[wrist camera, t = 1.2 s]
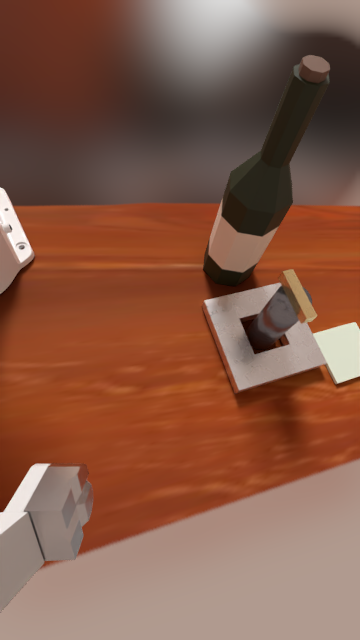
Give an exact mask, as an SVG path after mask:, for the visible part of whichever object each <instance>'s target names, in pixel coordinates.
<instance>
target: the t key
mask: <svg viewBox="0 0 360 640" xmlns="http://www.w3.org/2000/svg"><path fill="white" fill-rule="evenodd" d="M278 279H279V281H280V283H281V285H282V286H280V287H279V289H278V290H277V291H276V292H275V294H274V295H273V296H272V297H271V299H270V300H269V301H268V303H267V304H266V305H265V306H264V308H263V309H262V310H261V312H260V313H259V314H258V315H257V317H256V318H255V319H254V321H253V322H252V323H251V324H250V326H249V327H248V328H247V330H246V336H247V338H248V340H249V343H250V345H251V346H252V347H253V348H255V349H258V350H266V349H268V348H270V347H271V346H272V345H273V344H274V343H275V342H276V341H277V340H278V339H279V338H281V337H282V336H283V335H284V334H285V333H286V332H287V331H288V330H289V329H290V328H291V327H292V326H293V325H295V324H296V323H297V322H298V321H300V323H301V324H303V323H307V322H310V321H312V320H313V319H315V318H316V317H317V314H316V312H315V310H314V309H313V307H312V299H311V296H310V294H309V293H308V291H307V290H306V289H305V288H304V287H302V286H301V284H300V282H299V280H298V278H297V276H296V274H295V272H294V270H293V269H291V270H286V271H282V273H281V274H280V276H279V277H278Z"/></svg>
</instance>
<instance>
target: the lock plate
mask: <svg viewBox="0 0 360 640" xmlns="http://www.w3.org/2000/svg"><path fill="white" fill-rule="evenodd" d="M280 286H282V285H281V283H277V284H273V285H268V286H264V287H260V288H256V289H251V290H247V291H243V292H238V293H234V294H230V295H226V296H221V297H217V298H213V299H209V300H204V302H203V305H202V309H203V311H204V314H205V316H206V319H207V322H208V324H209V327H210V330H211V332H212V335H213V337H214V340H215V343H216V345H217V348H218V351H219V353H220V356H221V358H222V361H223V364H224V366H225V369H226V372H227V374H228V377H229V379H230V382H231V385H232V387H233V390H234V393H235V394H236V393H239V392H242V391H245V390H249V389H252V388H255V387H258V386H261V385H265V384H268V383H271V382H274V381H277V380H280V379H284V378H287V377H290V376H293V375H296V374H300V373H303V372H306V371H309V370H312V369H316V368H319V367H321V366H323V365H325V364H326V363H327V362H326V360H325V358H324V356H323V354H322V352H321V350H320V348H319V346H318V344H317V342H316V340H315V338H314V336H313V334H312V332H311V330H310V328H309V326H308V324H307V323H303V324H301V323H300V321H298V322H297V323H296V324H295V325H293V326H292V327H291V328H290V329H289V330H288V331H287V332H286V333H285V334H284V335H283V336H282V337H281V338H280V340H281V342H282V345H283V346H282V347H279V348H275V349H272V350H268V351H265V352H261V353H258V354H254V352H253V350H252V347H251V345H250V343H249V340H248V338H247V336H246V333H245V331H244V328H243V326H242V324H241V322H245V321H249V320H252V319H255V318H256V317H257V315H258V314H259V313H260V312H261V310H262V309H263V308H264V306H265V305H266V304H267V303H268V301H269V300H270V299H271V297H272V296H273V295H274V294H275V292H276V291H277V290H278V289H279V287H280Z"/></svg>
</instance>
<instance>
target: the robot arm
mask: <svg viewBox="0 0 360 640" xmlns="http://www.w3.org/2000/svg"><path fill="white" fill-rule="evenodd" d="M21 248H24V249H22V250H21ZM33 258H34V252H33V250H32V248H31V245H30V243H29V241H28V239H27V237H26V234H25V232H24V230H23V228H22V226H21V223H20V221H19V219H18V217H17V215H16V212H15V210H14V208H13V206H12V204H11V202H10V199H9V197H8V195H7V193H6V192H5V190H4V189H2V188H0V294H1V293H2V292H3V291H4V290H6V289H7V287H8V286H9V285H10V284H11V283H12V281H13V280H14V278H15V276H16V275H17V273H18V272H19V271H20V269H22V268H23V267H24V266H26V265H27V264H28V263H30V262H31V261H32V260H33ZM88 474H89V472H88V469H87V465H86V464H72V463H52V464H35V465H33V466H32V467H31V468H30V469H29V471H28V473H27V474H26V476H25V478H24V479H23V481H22V483H21V484H20V486H19V487H18V489H17V491H16V492H15V494H14V496H13V497H12V499H11V500H10V502H9V504H8V505H7V507H6V509H5V510H4V512H0V613H1V611H2V610H3V609H4V608H5V607H6V606H7V605H8V604H9V602H10V601H11V600H12V599H13V598H14V597H15V596H16V594H17V593H18V592H19V591H20V590H21V589H22V588H23V586H24V585H25V584H26V583H27V582H28V581H29V580H30V579H31V577H32V576H33V575H34V574H35V573H36V572H37V571H38V570H39V569H40V567H41V566H42V565H43V564H44V561H54V560H75V559H76V556H77V553H78V550H79V547H80V544H81V541H82V538H83V532H82V526H83V525H84V524H85V523H86V522H87V521H88V520H89V517H90V514H91V511H92V504H93V490H92V485H91V484H90V483H89V482H88V481H87V477H88Z"/></svg>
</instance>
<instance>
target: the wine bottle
mask: <svg viewBox="0 0 360 640" xmlns="http://www.w3.org/2000/svg"><path fill="white" fill-rule="evenodd" d="M329 70H330V67H329V63H328V62H327V61H325V60H324V59H323V58H321V57H317V56H313V55H309V56H306V57H304V58H303V59H302V61H301V63H300V64H299V65H296V66H294V67H293V70H292V72H291V75H290V77H289V80H288V82H287V85H286V87H285V90H284V93H283V95H282V98H281V101H280V103H279V105H278V108H277V111H276V113H275V116H274V118H273V121H272V123H271V126H270V128H269V131H268V134H267V136H266V139H265V141H264V144H263V146H262V149H261V151H260V152H258V153H257V154H255V155H254V156H253V157H251V158H250V159H248V160H247V161H246V162H244V163H243V164H241V165H240V166H239V167H237V168H236V169H234V170H233V171H232V172H231V173H230V176H229V180H228V183H227V186H226V189H225V192H224V195H223V198H222V201H221V205H220V208H219V211H218V214H217V217H216V220H215V223H214V226H213V230H212V233H211V236H210V239H209V242H208V245H207V248H206V251H205V257H204V267H203V270H204V271H205V272H206V273H207V274H208V275H209V276H210V278H211V279H212V280H213V281H214V282H215V283H216V284H222V285H228V286H237V285H238V284H240V283H241V282H243V281H244V280H246V279H247V278H249V276H250V275H251V273H252V271H253V270H254V268H255V266H256V264H257V263H258V261H259V259H260V258H261V256H262V254H263V253H264V251H265V249H266V247H267V246H268V244H269V242H270V241H271V239H272V237H273V235H274V234H275V232H276V230H277V229H278V227H279V225H280V223H281V222H282V220H283V218H284V217H285V215H286V213H287V212H288V210H289V208H290V206H291V205H292V203H293V200H292V199H293V198H292V181H291V173H290V165H289V163H290V161H291V159H292V157H293V155H294V153H295V151H296V148H297V147H298V144H299V143H300V141H301V138H302V137H303V135H304V133H305V130H306V129H307V127H308V124H309V123H310V121H311V119H312V117H313V115H314V113H315V111H316V109H317V107H318V105H319V103H320V101H321V98H322V96H323V95H324V93H325V90H326V88H327V86H328V84H329V83H330V82H329V75H328V73H329Z"/></svg>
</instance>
